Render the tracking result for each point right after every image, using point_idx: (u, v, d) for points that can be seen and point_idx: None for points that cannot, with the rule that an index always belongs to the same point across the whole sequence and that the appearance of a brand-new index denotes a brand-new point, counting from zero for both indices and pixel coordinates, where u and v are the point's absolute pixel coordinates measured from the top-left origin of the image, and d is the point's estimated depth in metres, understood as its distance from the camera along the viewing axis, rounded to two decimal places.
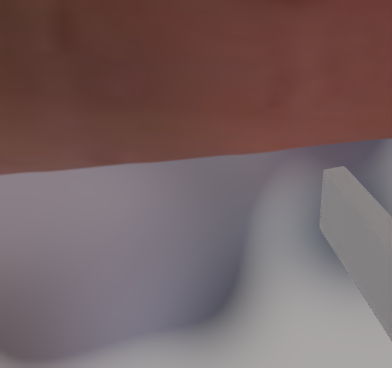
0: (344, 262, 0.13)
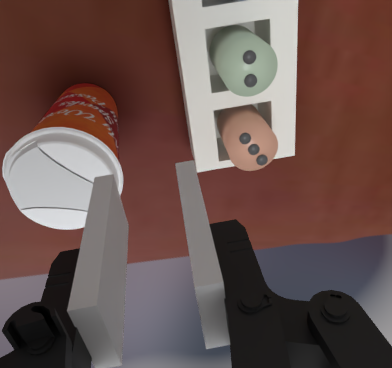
0: None
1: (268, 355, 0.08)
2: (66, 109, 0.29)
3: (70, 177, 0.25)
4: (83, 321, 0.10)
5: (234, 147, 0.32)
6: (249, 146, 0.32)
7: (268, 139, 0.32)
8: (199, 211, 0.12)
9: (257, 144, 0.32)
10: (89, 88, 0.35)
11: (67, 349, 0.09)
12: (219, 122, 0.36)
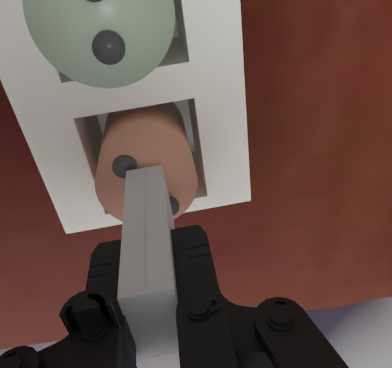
0: None
1: (217, 360, 0.08)
2: None
3: None
4: (132, 309, 0.10)
5: (106, 184, 0.16)
6: None
7: (175, 166, 0.16)
8: (160, 216, 0.12)
9: None
10: None
11: (119, 339, 0.09)
12: None
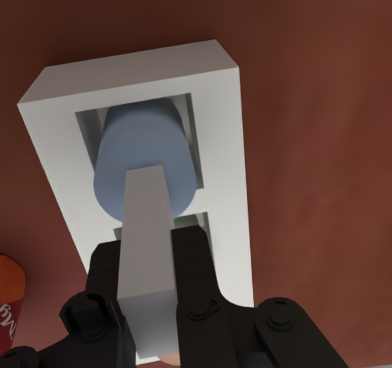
0: None
1: (217, 360, 0.08)
2: None
3: None
4: (131, 309, 0.10)
5: None
6: None
7: None
8: (160, 216, 0.12)
9: None
10: None
11: (119, 339, 0.09)
12: None
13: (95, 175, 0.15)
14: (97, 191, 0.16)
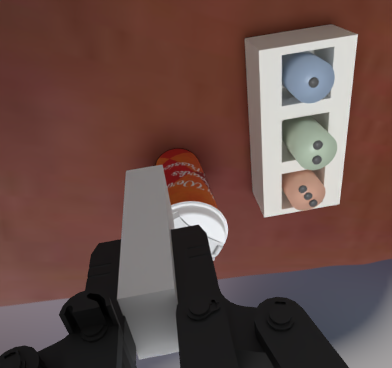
0: None
1: (217, 360, 0.08)
2: (182, 180, 0.40)
3: None
4: (131, 309, 0.10)
5: (294, 195, 0.44)
6: (305, 194, 0.44)
7: (318, 189, 0.44)
8: (160, 216, 0.12)
9: (310, 192, 0.44)
10: (184, 155, 0.46)
11: (119, 339, 0.09)
12: None
13: (294, 75, 0.36)
14: (293, 83, 0.37)
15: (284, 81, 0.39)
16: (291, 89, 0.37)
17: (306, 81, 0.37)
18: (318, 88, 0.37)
